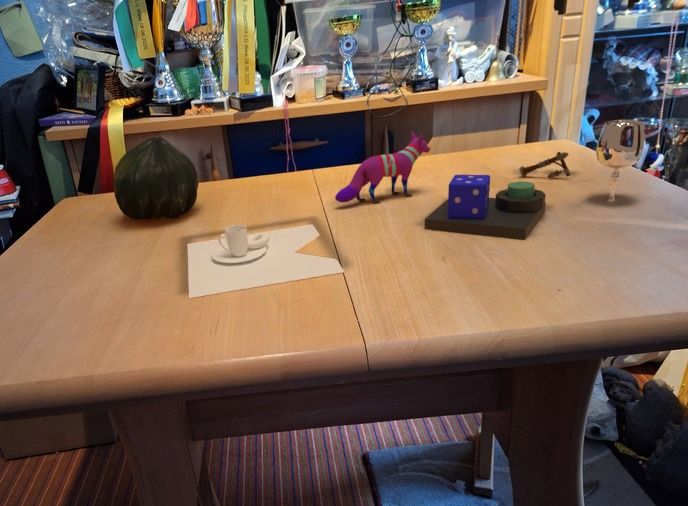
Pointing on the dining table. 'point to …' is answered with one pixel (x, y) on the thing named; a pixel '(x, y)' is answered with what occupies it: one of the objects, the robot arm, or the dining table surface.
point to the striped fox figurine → (384, 171)
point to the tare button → (521, 190)
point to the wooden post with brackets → (559, 156)
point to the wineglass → (620, 147)
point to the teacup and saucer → (254, 260)
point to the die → (468, 196)
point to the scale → (494, 217)
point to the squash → (155, 181)
